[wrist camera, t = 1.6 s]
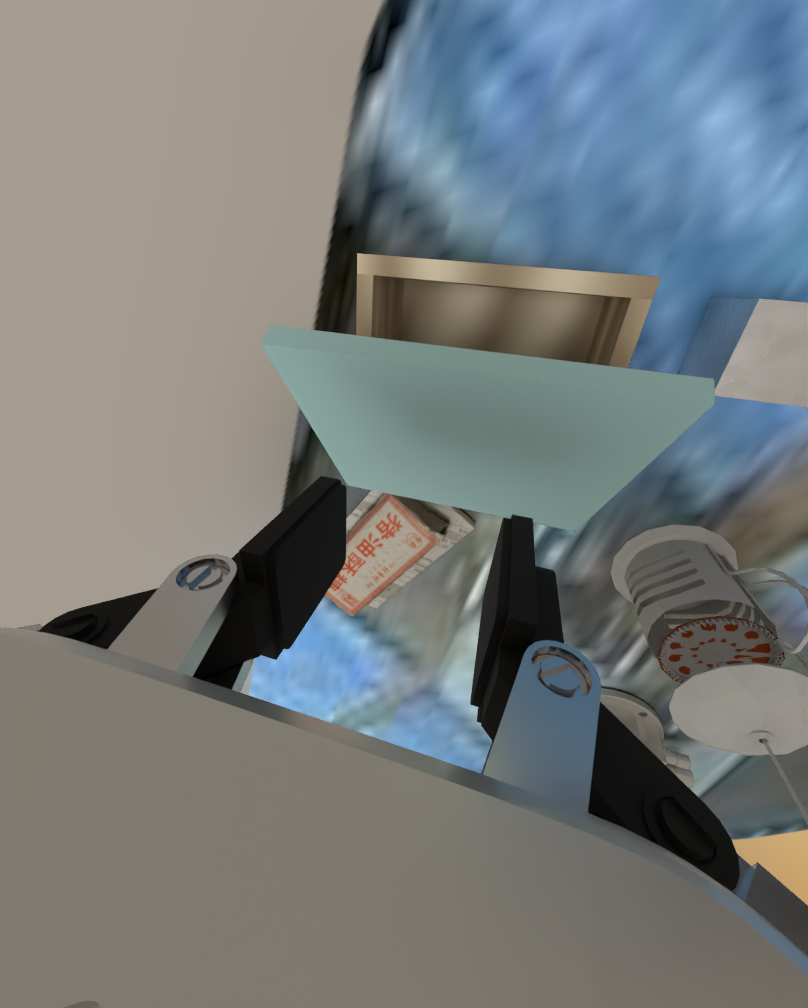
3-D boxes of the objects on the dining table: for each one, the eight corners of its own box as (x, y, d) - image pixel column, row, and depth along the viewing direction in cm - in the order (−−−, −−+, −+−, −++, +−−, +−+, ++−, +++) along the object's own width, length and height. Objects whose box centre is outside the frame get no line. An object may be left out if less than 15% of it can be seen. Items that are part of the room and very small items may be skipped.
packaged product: (362, 633, 43) (293, 579, 42) (376, 604, 47) (314, 553, 46) (472, 547, 33) (387, 474, 32) (477, 519, 37) (402, 454, 36)
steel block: (799, 305, 24) (874, 308, 19) (755, 385, 26) (811, 408, 21) (710, 297, 25) (759, 298, 20) (676, 376, 27) (712, 395, 22)
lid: (714, 378, 12) (714, 404, 12) (577, 517, 26) (575, 531, 25) (269, 324, 15) (260, 343, 15) (351, 473, 29) (347, 485, 28)
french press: (586, 573, 37) (676, 953, 15) (693, 488, 30) (1086, 928, 9) (668, 627, 37) (862, 1067, 16) (790, 554, 31) (1373, 1117, 10)
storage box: (623, 281, 25) (661, 276, 19) (563, 469, 32) (573, 515, 26) (396, 263, 28) (357, 253, 22) (386, 438, 35) (354, 472, 29)
